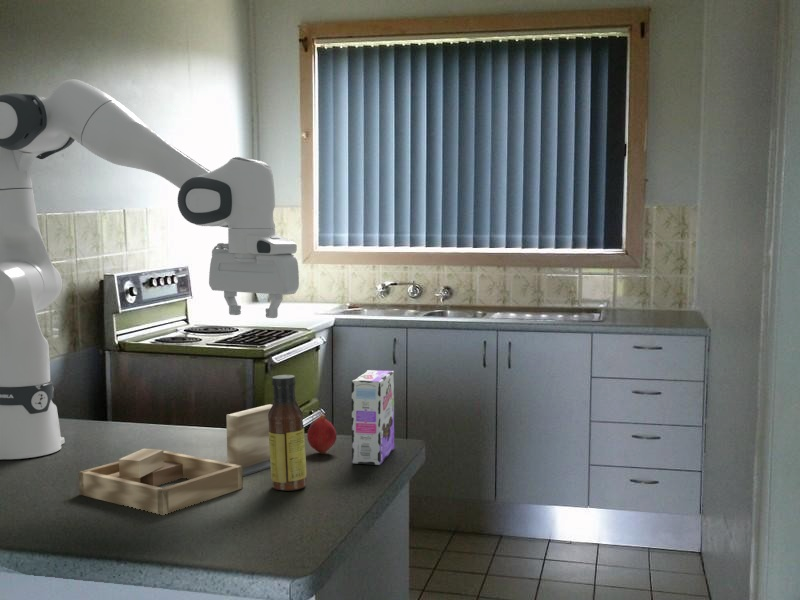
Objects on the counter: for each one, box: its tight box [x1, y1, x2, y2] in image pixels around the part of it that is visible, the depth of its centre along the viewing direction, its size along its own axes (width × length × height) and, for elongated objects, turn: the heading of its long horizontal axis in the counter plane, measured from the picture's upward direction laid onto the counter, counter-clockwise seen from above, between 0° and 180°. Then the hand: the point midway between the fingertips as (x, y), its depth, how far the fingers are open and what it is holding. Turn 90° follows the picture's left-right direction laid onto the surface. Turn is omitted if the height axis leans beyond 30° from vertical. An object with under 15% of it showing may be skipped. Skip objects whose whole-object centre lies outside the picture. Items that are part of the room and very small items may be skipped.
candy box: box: [351, 369, 395, 466], centre depth 190 cm, size 14×6×16 cm, turn 168°
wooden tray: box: [78, 449, 244, 516], centre depth 167 cm, size 21×18×4 cm
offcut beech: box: [118, 447, 164, 478], centre depth 170 cm, size 4×8×3 cm, turn 163°
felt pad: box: [224, 460, 271, 477], centre depth 186 cm, size 9×17×1 cm, turn 146°
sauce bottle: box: [268, 374, 308, 492], centre depth 169 cm, size 7×6×20 cm
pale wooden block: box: [226, 403, 273, 468], centre depth 186 cm, size 3×12×10 cm, turn 146°
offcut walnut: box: [140, 461, 184, 487], centre depth 174 cm, size 4×7×3 cm, turn 146°
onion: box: [306, 414, 337, 455], centre depth 193 cm, size 6×6×8 cm
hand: (253, 316), depth 183 cm, fingers open, 8 cm apart
